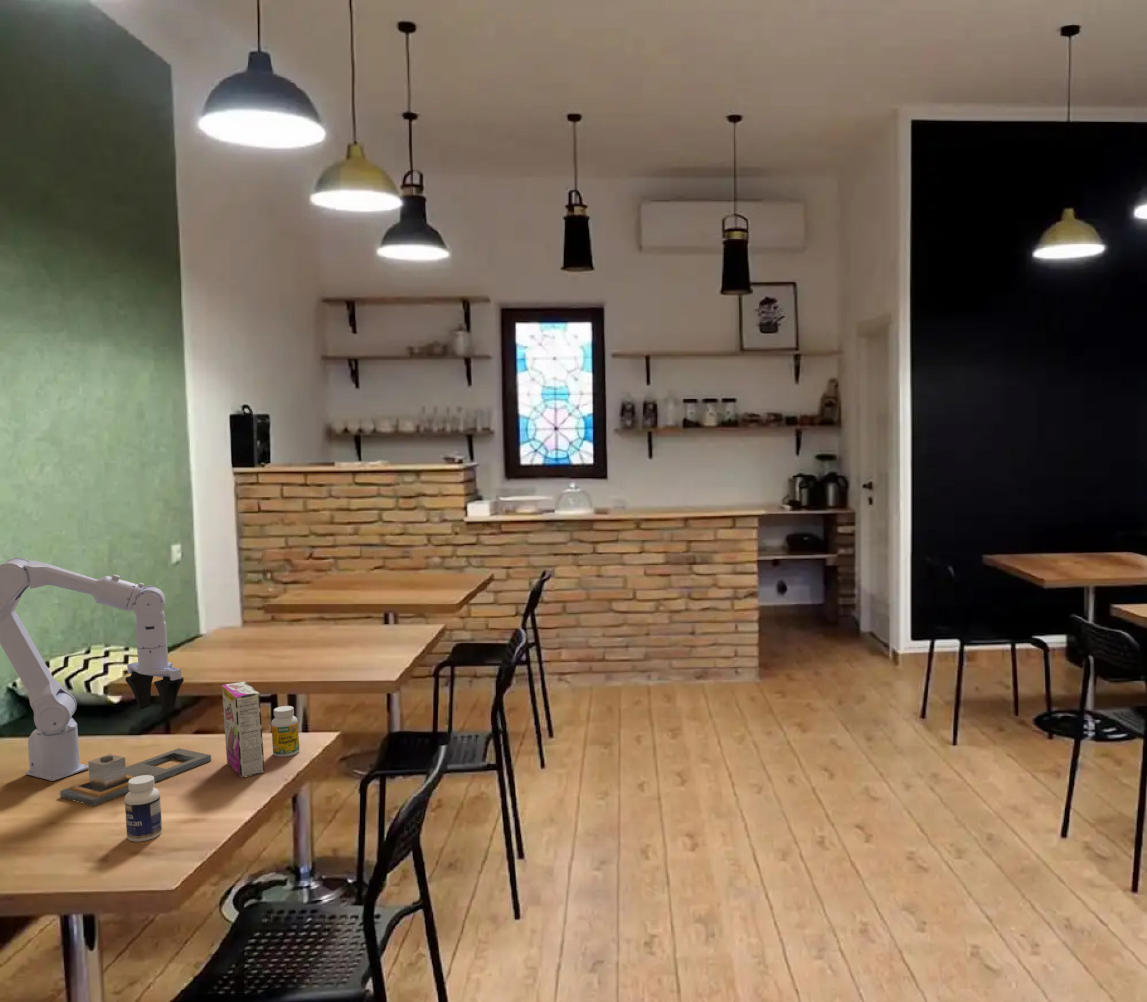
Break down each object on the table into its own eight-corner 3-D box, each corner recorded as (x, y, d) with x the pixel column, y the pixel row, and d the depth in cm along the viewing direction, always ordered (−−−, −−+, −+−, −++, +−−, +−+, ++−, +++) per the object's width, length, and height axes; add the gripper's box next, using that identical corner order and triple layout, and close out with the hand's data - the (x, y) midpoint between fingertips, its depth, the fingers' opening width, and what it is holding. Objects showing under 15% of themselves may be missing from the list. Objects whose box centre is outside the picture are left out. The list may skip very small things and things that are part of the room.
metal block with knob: (90, 792, 178) (88, 759, 178) (111, 784, 182) (109, 752, 182) (105, 796, 176) (103, 763, 175) (126, 787, 180) (124, 755, 179)
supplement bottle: (295, 747, 200) (292, 703, 200) (302, 753, 196) (300, 709, 195) (269, 752, 197) (267, 707, 197) (277, 759, 193) (274, 713, 192)
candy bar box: (225, 763, 192) (220, 684, 191) (250, 757, 195) (245, 680, 193) (239, 779, 183) (235, 696, 181) (265, 773, 185) (261, 691, 184)
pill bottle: (119, 841, 155) (116, 784, 155) (140, 828, 161) (136, 772, 160) (149, 843, 154) (145, 785, 154) (168, 829, 160) (165, 773, 159)
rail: (60, 797, 176) (60, 789, 176) (179, 753, 198) (178, 746, 198) (93, 806, 171) (92, 798, 171) (211, 760, 193) (210, 753, 193)
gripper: (192, 644, 193) (196, 709, 195) (146, 638, 201) (150, 700, 202) (162, 652, 187) (166, 718, 188) (116, 645, 195) (120, 709, 196)
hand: (156, 710), depth 195 cm, fingers open, 7 cm apart
